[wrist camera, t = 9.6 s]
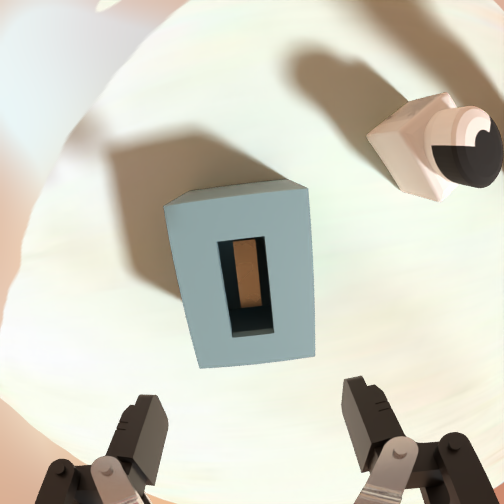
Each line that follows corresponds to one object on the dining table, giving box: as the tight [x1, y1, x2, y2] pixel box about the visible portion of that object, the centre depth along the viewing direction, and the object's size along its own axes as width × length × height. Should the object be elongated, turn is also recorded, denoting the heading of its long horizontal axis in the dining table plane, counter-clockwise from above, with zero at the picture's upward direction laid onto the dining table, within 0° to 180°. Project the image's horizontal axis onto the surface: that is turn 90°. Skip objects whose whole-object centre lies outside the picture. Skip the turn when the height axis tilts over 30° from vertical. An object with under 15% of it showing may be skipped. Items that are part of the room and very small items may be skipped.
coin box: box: [163, 179, 315, 368], centre depth 26 cm, size 10×14×10 cm
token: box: [233, 237, 262, 308], centre depth 28 cm, size 2×6×6 cm, turn 6°
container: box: [366, 92, 503, 202], centre depth 22 cm, size 8×8×13 cm
